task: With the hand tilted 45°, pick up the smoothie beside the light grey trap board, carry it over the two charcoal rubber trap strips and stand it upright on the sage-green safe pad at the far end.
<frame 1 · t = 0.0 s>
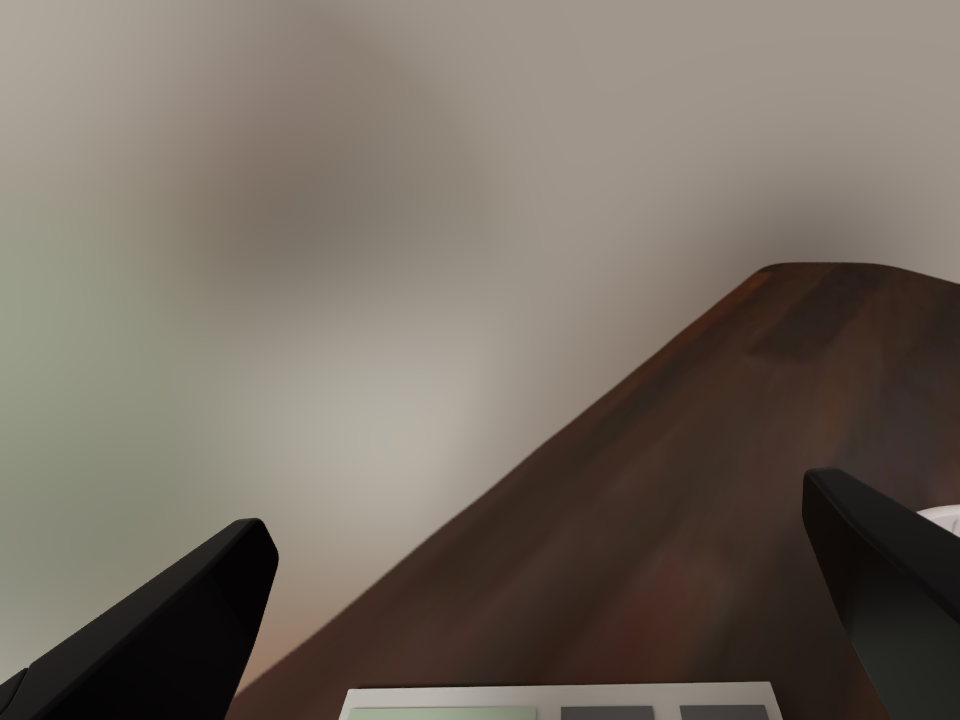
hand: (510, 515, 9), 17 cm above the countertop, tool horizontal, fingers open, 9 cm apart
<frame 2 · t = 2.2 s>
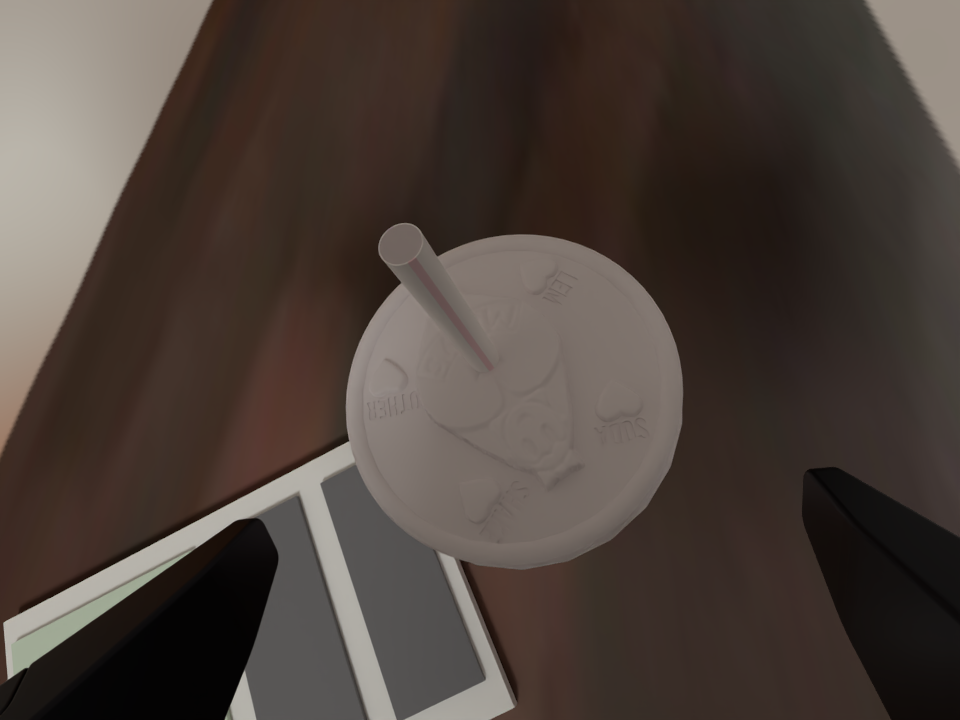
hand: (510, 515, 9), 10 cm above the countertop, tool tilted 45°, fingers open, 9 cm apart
smoothie: (559, 461, 19), on the countertop
trap board: (289, 629, 19), on the countertop
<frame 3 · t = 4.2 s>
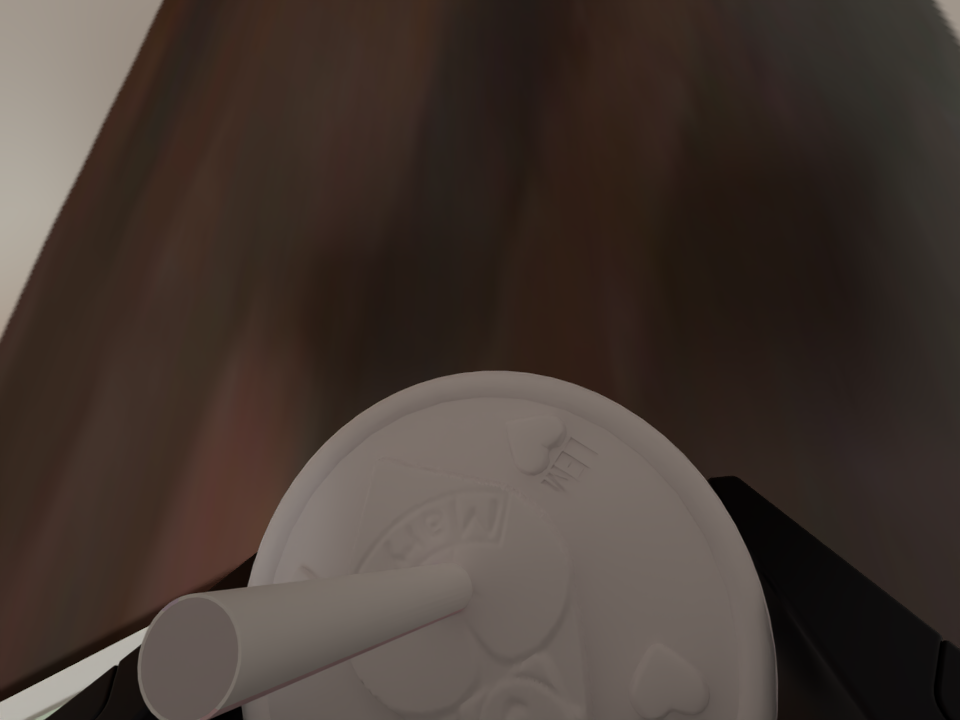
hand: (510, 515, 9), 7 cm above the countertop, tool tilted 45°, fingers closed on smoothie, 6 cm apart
smoothie: (562, 579, 15), on the countertop, touching gripper
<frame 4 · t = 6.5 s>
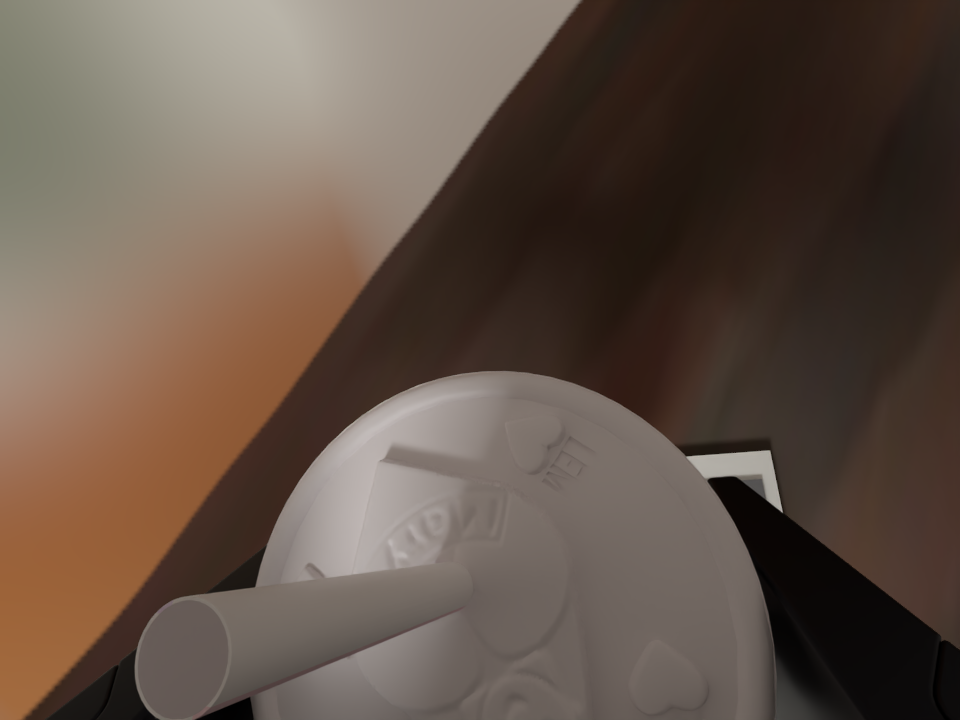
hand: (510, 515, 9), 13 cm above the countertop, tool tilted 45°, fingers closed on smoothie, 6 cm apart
smoothie: (572, 575, 16), point 6 cm above the countertop, touching gripper
trap board: (602, 603, 20), on the countertop
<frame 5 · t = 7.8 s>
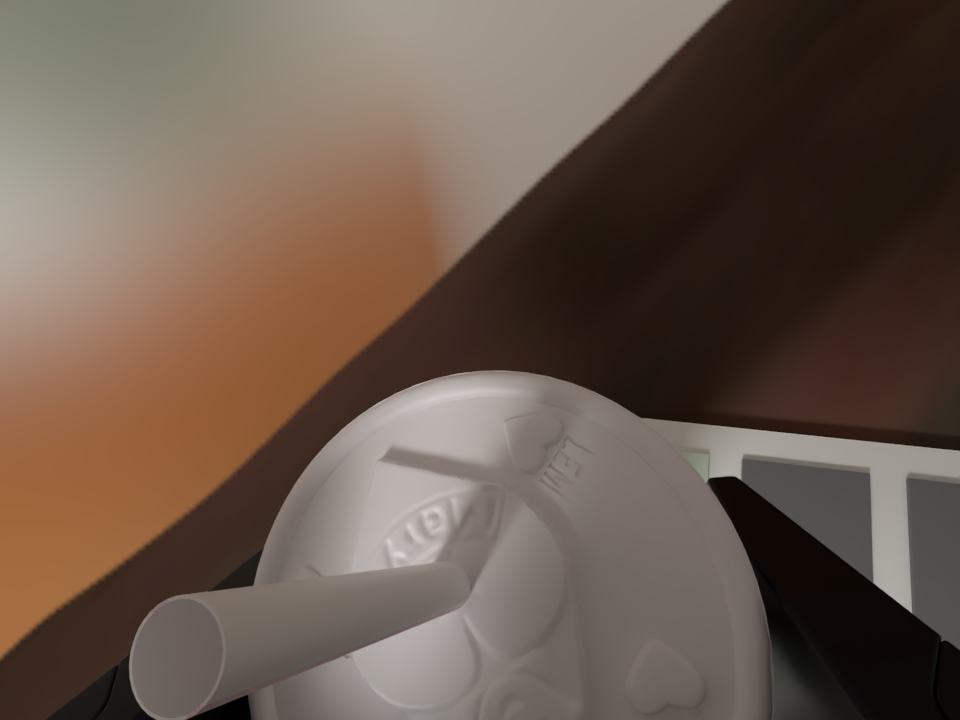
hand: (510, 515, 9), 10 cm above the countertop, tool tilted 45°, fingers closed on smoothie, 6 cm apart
smoothie: (571, 575, 16), point 3 cm above the countertop, touching gripper
trap board: (788, 600, 17), on the countertop
when the fingers open (9 cm above the countertop, at t = 9.0 s): smoothie drops 1 cm, resting on trap board.
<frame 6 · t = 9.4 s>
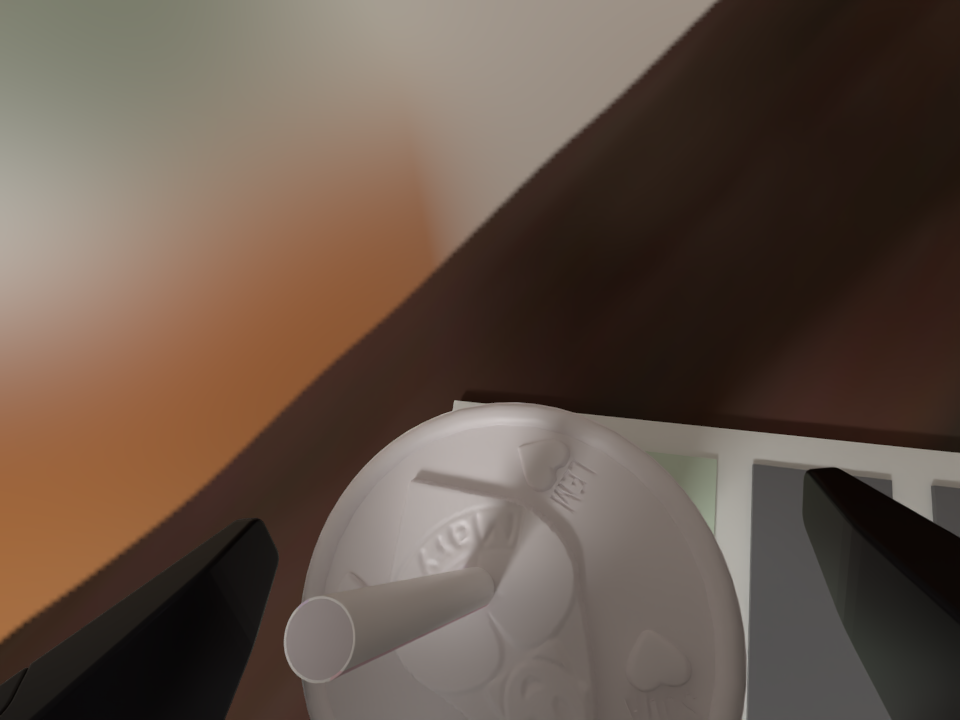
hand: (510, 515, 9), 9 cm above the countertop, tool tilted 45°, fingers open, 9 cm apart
smoothie: (571, 576, 17), point 1 cm above the countertop, touching trap board
trap board: (803, 617, 16), on the countertop
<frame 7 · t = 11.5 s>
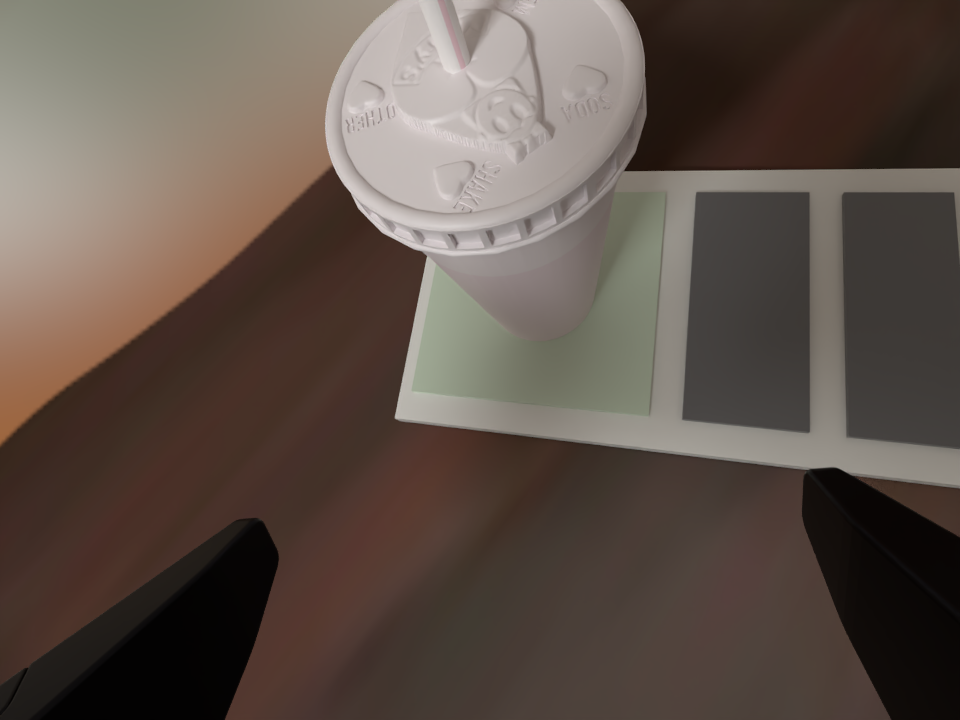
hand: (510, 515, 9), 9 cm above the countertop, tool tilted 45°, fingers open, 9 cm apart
smoothie: (542, 294, 20), point 1 cm above the countertop, touching trap board
trap board: (735, 309, 18), on the countertop
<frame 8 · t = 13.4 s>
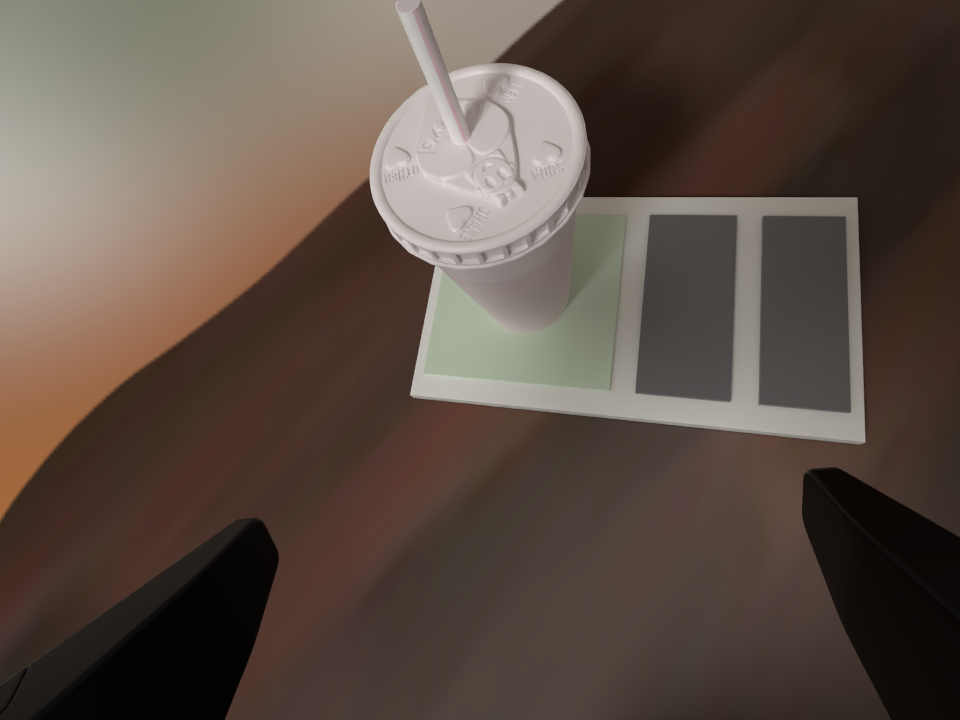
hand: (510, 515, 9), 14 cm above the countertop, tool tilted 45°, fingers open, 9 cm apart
smoothie: (527, 295, 25), point 1 cm above the countertop, touching trap board
trap board: (679, 307, 23), on the countertop
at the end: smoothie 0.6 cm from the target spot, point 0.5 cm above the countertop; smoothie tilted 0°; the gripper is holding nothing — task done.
